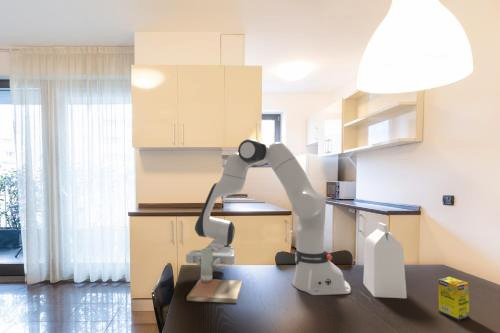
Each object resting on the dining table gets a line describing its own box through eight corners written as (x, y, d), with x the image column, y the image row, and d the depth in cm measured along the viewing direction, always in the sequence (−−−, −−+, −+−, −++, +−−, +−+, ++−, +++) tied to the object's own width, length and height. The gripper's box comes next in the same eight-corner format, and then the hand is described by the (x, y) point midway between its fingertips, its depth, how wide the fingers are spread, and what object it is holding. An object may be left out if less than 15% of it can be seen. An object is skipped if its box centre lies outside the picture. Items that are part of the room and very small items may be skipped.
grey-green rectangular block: (213, 279, 103) (213, 248, 104) (210, 283, 99) (211, 251, 99) (202, 278, 104) (202, 248, 104) (199, 283, 99) (199, 251, 100)
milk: (363, 283, 109) (362, 221, 110) (392, 284, 108) (390, 221, 109) (374, 296, 97) (372, 226, 98) (406, 298, 96) (405, 227, 97)
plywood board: (242, 284, 108) (242, 280, 108) (236, 303, 92) (236, 298, 92) (199, 282, 109) (199, 278, 109) (186, 300, 93) (187, 295, 94)
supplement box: (459, 321, 80) (457, 285, 81) (438, 312, 86) (437, 278, 86) (470, 317, 83) (469, 282, 83) (449, 309, 88) (448, 276, 89)
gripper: (191, 245, 115) (180, 254, 102) (237, 246, 114) (232, 256, 100) (191, 259, 115) (179, 271, 101) (237, 261, 113) (231, 272, 100)
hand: (206, 263), depth 101 cm, fingers closed on grey-green rectangular block, 4 cm apart
